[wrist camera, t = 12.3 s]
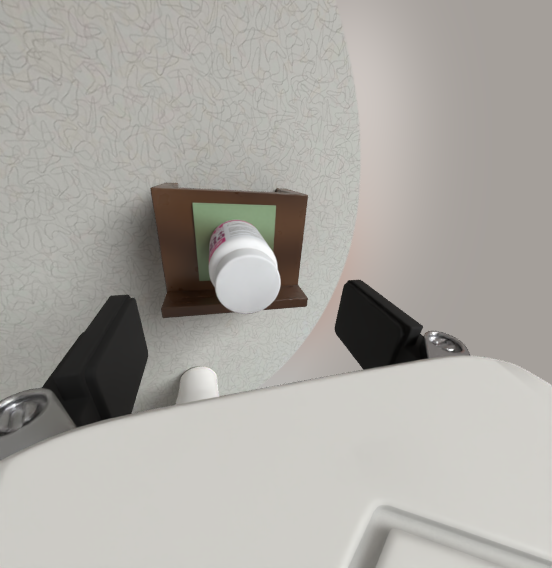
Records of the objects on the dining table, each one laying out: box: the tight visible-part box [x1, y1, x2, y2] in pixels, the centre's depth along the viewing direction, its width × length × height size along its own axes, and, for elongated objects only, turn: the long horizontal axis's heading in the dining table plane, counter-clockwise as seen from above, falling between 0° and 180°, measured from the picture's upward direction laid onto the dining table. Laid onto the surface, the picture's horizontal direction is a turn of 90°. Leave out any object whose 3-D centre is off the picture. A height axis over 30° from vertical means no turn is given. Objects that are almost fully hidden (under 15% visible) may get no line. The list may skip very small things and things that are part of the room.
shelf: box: [151, 183, 308, 318], centre depth 23 cm, size 10×13×10 cm
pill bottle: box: [209, 220, 281, 314], centre depth 17 cm, size 5×5×8 cm
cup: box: [175, 366, 219, 405], centre depth 32 cm, size 9×9×10 cm
